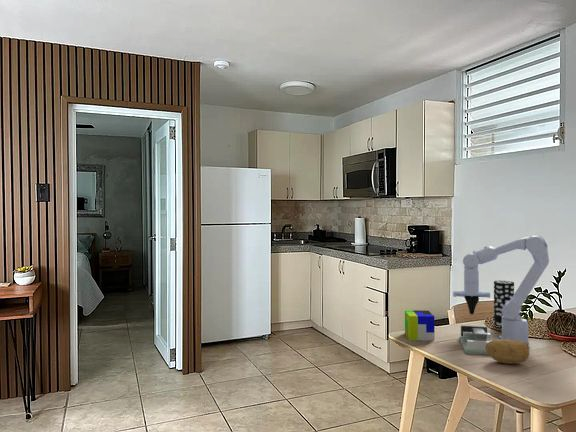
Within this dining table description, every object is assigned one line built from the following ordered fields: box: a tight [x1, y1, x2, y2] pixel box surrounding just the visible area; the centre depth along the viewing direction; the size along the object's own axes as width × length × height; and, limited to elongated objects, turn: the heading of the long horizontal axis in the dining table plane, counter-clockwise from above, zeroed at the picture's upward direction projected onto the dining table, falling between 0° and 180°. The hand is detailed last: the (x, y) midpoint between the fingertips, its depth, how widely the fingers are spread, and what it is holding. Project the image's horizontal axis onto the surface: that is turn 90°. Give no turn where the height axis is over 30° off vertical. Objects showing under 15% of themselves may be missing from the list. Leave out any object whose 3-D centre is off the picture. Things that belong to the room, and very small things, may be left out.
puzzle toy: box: [404, 309, 435, 341], centre depth 189 cm, size 10×10×10 cm
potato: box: [485, 339, 530, 365], centre depth 157 cm, size 10×14×8 cm
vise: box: [458, 336, 493, 356], centre depth 174 cm, size 12×18×4 cm, turn 167°
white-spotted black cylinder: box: [493, 280, 515, 327], centre depth 203 cm, size 8×8×20 cm
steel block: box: [472, 328, 487, 341], centre depth 173 cm, size 4×8×6 cm, turn 167°
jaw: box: [460, 325, 492, 341], centre depth 181 cm, size 10×8×4 cm
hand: (471, 313), depth 190 cm, fingers closed
